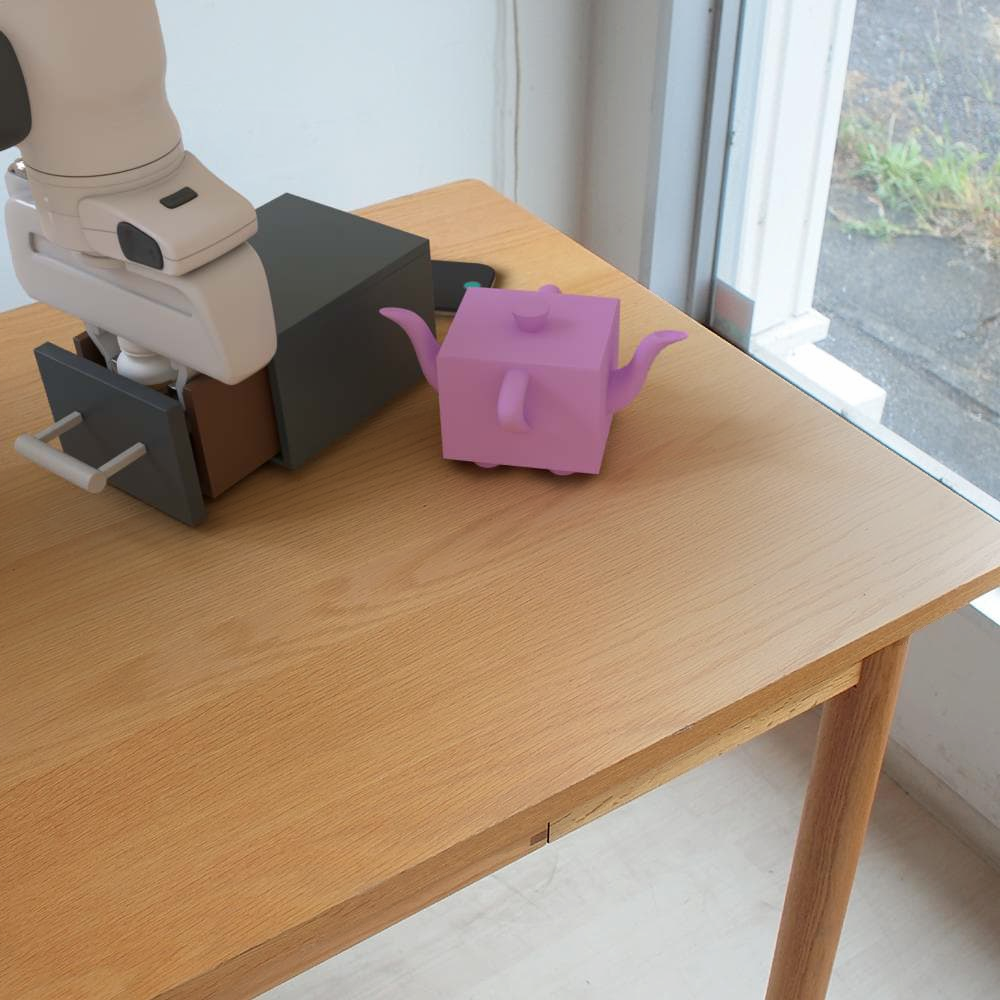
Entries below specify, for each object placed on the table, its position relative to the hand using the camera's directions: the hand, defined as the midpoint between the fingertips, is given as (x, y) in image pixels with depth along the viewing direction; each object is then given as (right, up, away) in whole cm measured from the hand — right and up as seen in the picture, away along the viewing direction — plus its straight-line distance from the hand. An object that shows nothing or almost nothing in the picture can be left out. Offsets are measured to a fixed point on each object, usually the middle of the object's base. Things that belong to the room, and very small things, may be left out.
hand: (158, 391), depth 85 cm
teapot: (+24, -3, +5) cm, 25 cm away
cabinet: (+7, +1, +11) cm, 14 cm away
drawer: (+1, -4, +4) cm, 6 cm away
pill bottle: (0, -2, +2) cm, 3 cm away
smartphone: (+14, +10, +22) cm, 28 cm away
